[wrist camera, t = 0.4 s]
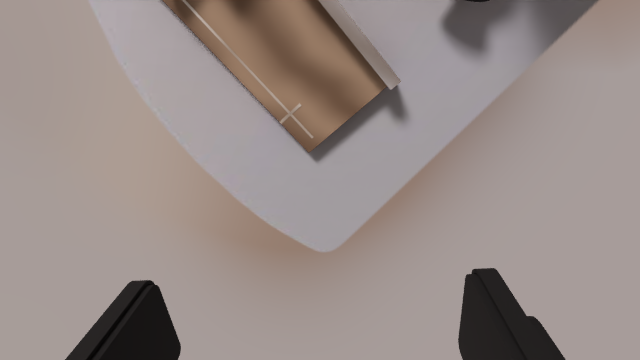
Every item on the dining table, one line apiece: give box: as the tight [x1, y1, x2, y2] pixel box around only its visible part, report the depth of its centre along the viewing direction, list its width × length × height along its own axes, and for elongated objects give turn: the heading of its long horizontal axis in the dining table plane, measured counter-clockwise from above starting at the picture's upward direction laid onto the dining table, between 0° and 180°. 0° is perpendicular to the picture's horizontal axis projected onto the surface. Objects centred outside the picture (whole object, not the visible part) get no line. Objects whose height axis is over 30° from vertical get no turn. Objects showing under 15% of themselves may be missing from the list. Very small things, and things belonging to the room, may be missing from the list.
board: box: [163, 0, 401, 152], centre depth 31 cm, size 12×25×4 cm, turn 42°
